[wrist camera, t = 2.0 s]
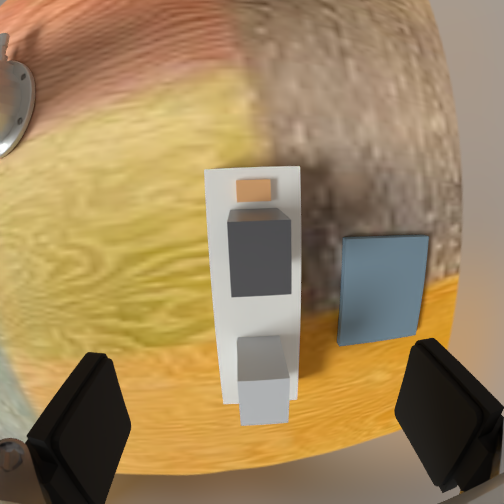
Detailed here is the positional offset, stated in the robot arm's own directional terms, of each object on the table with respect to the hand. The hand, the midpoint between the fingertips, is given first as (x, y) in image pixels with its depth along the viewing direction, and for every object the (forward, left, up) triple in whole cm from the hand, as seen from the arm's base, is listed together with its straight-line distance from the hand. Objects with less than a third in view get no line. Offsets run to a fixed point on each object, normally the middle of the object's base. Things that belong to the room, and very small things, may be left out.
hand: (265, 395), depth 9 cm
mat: (+6, +15, -23) cm, 28 cm away
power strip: (+5, +1, -23) cm, 23 cm away
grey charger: (+11, +1, -21) cm, 23 cm away
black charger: (-1, +1, -21) cm, 21 cm away
